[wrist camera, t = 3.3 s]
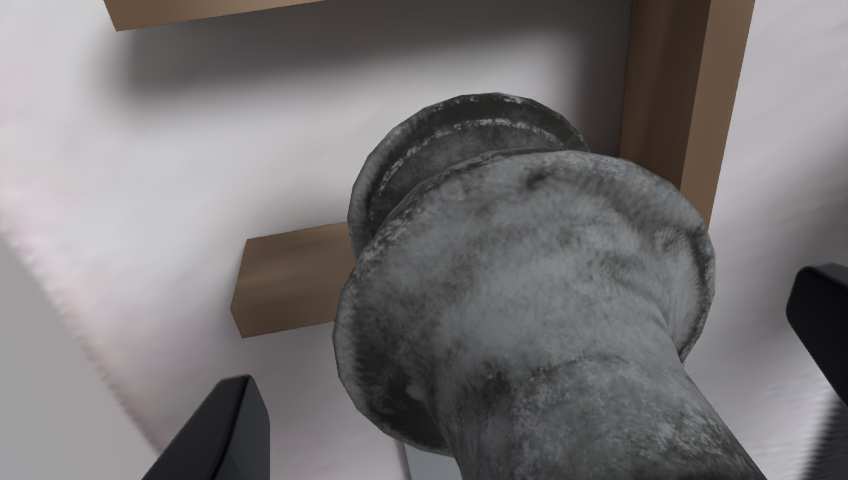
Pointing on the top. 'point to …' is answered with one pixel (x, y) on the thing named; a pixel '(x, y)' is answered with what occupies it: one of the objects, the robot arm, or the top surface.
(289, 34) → the top surface
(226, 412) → the robot arm
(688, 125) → the brown wooden u-shaped frame
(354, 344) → the grey tall turned piece
